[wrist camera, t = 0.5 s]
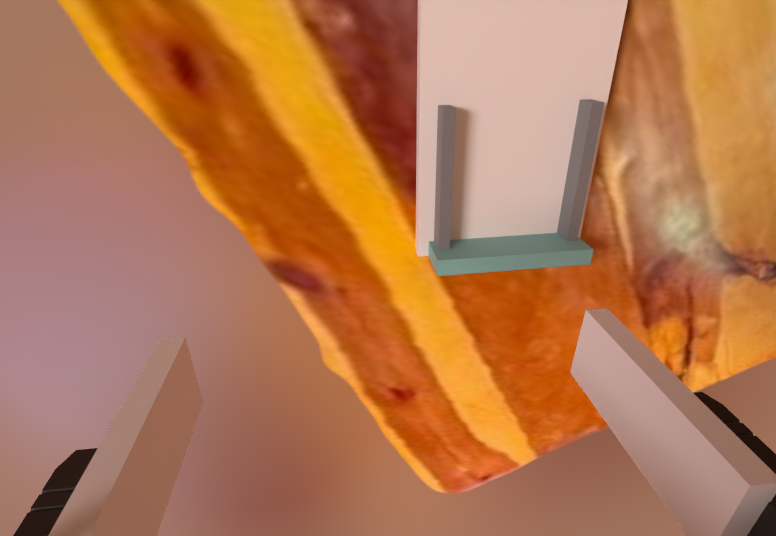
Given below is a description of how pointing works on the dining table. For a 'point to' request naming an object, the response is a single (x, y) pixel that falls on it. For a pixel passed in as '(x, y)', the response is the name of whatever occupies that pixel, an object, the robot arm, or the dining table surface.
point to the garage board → (510, 129)
